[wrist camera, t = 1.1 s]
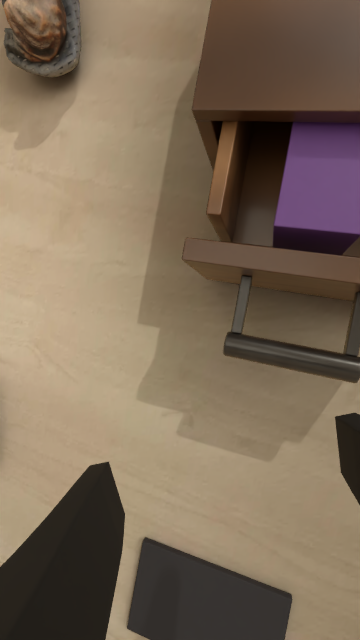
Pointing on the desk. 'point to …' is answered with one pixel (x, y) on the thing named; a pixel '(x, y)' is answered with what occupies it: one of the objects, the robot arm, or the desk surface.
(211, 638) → the felt mat
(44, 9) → the cat figurine
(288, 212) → the purple box
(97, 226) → the desk surface
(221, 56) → the cabinet
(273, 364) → the drawer
